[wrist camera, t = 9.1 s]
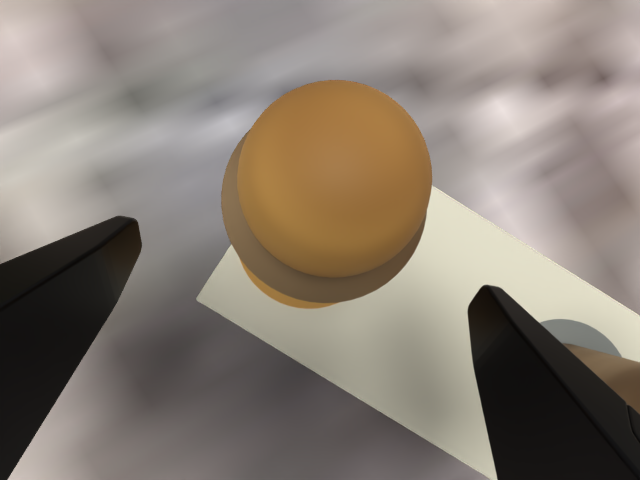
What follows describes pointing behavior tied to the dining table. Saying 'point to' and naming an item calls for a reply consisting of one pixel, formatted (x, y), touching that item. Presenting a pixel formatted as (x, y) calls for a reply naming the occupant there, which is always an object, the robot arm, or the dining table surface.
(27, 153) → the dining table surface
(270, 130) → the orange ball tube
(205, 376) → the dining table surface
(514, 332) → the robot arm
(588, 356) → the grey ball tube
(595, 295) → the card
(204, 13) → the dining table surface
